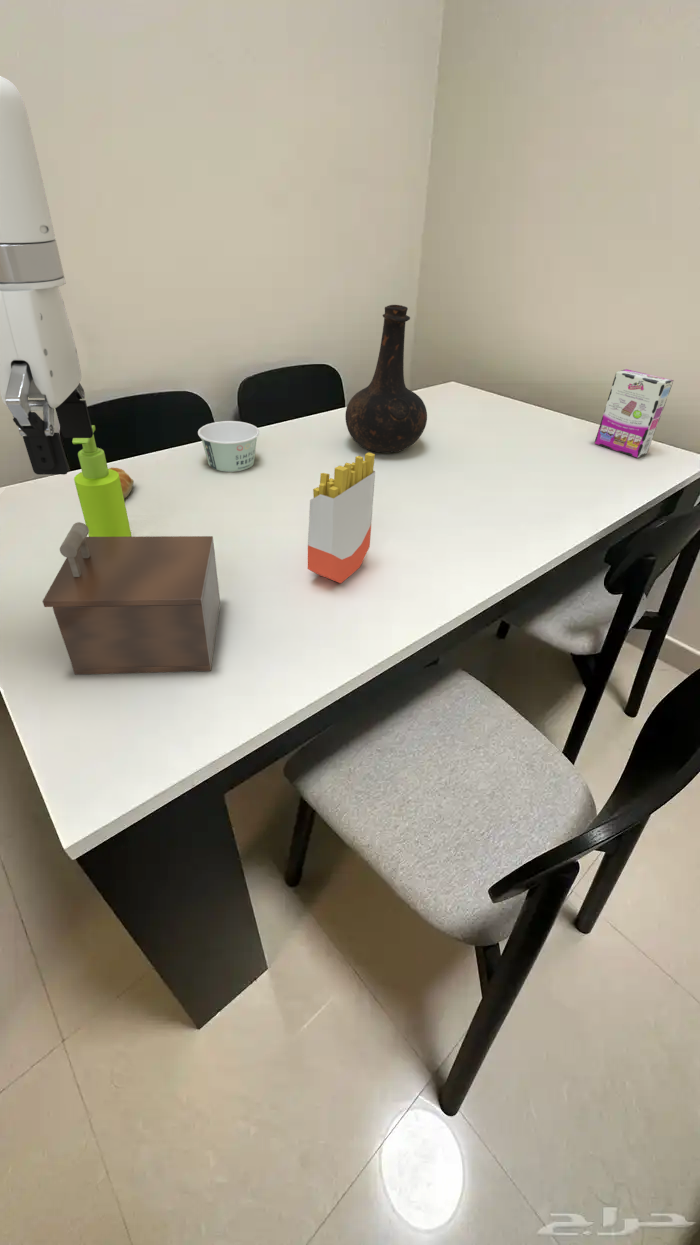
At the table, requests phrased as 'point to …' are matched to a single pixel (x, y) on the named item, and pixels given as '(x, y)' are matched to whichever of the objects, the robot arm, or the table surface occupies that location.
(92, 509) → the soap dispenser
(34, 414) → the robot arm
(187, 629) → the chest
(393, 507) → the table surface
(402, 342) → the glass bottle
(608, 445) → the candy bar box
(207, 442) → the food container
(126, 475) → the pastry
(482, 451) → the table surface
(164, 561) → the lid
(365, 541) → the french fries container
